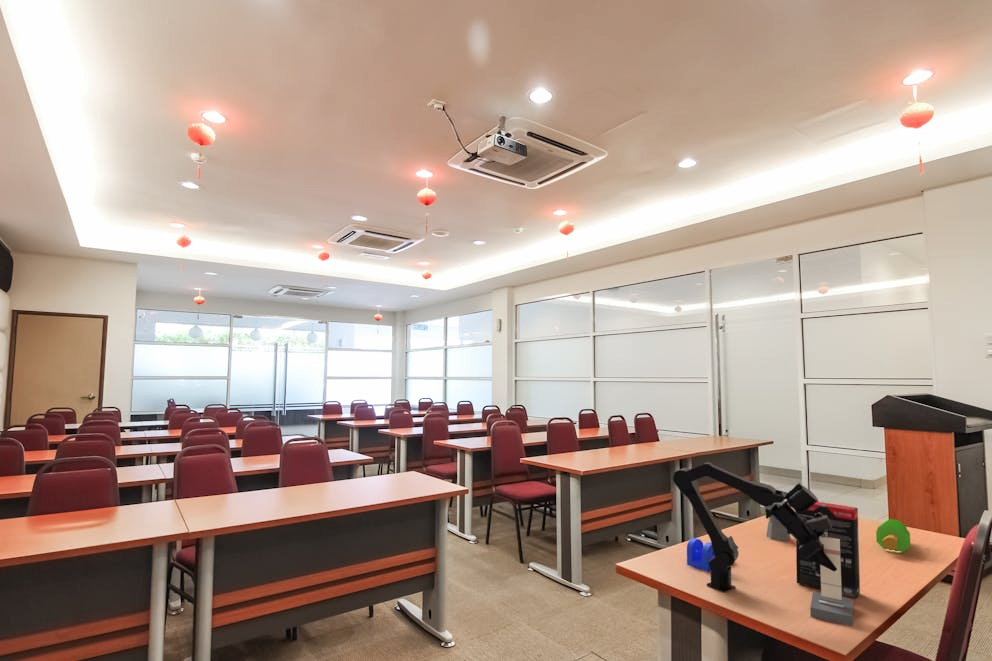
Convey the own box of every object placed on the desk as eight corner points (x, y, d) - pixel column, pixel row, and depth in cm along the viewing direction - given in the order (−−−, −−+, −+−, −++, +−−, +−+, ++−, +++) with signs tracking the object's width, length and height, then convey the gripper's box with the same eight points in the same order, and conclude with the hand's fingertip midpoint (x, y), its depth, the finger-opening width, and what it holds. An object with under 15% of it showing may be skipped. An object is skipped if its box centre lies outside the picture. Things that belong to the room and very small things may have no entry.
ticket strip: (821, 595, 155) (819, 537, 156) (821, 593, 156) (819, 535, 158) (841, 600, 152) (839, 540, 153) (841, 597, 154) (839, 539, 155)
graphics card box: (861, 593, 168) (858, 505, 170) (858, 600, 163) (855, 509, 165) (801, 579, 179) (798, 496, 181) (796, 585, 174) (793, 500, 176)
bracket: (707, 572, 184) (706, 545, 185) (687, 565, 191) (686, 539, 192) (737, 563, 194) (736, 537, 195) (717, 556, 201) (716, 532, 202)
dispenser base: (810, 616, 151) (810, 604, 151) (813, 599, 162) (813, 588, 163) (852, 626, 145) (852, 613, 145) (852, 608, 157) (852, 596, 157)
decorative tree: (880, 522, 207) (886, 506, 230) (868, 547, 209) (875, 529, 232) (915, 539, 200) (917, 520, 223) (902, 565, 202) (906, 544, 225)
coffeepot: (762, 539, 224) (761, 495, 225) (759, 533, 232) (758, 491, 234) (804, 543, 218) (802, 499, 220) (799, 537, 227) (798, 494, 229)
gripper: (811, 511, 151) (859, 559, 144) (814, 499, 166) (858, 542, 159) (780, 534, 154) (826, 582, 147) (786, 520, 170) (828, 563, 163)
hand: (836, 566), depth 154 cm, fingers open, 7 cm apart
